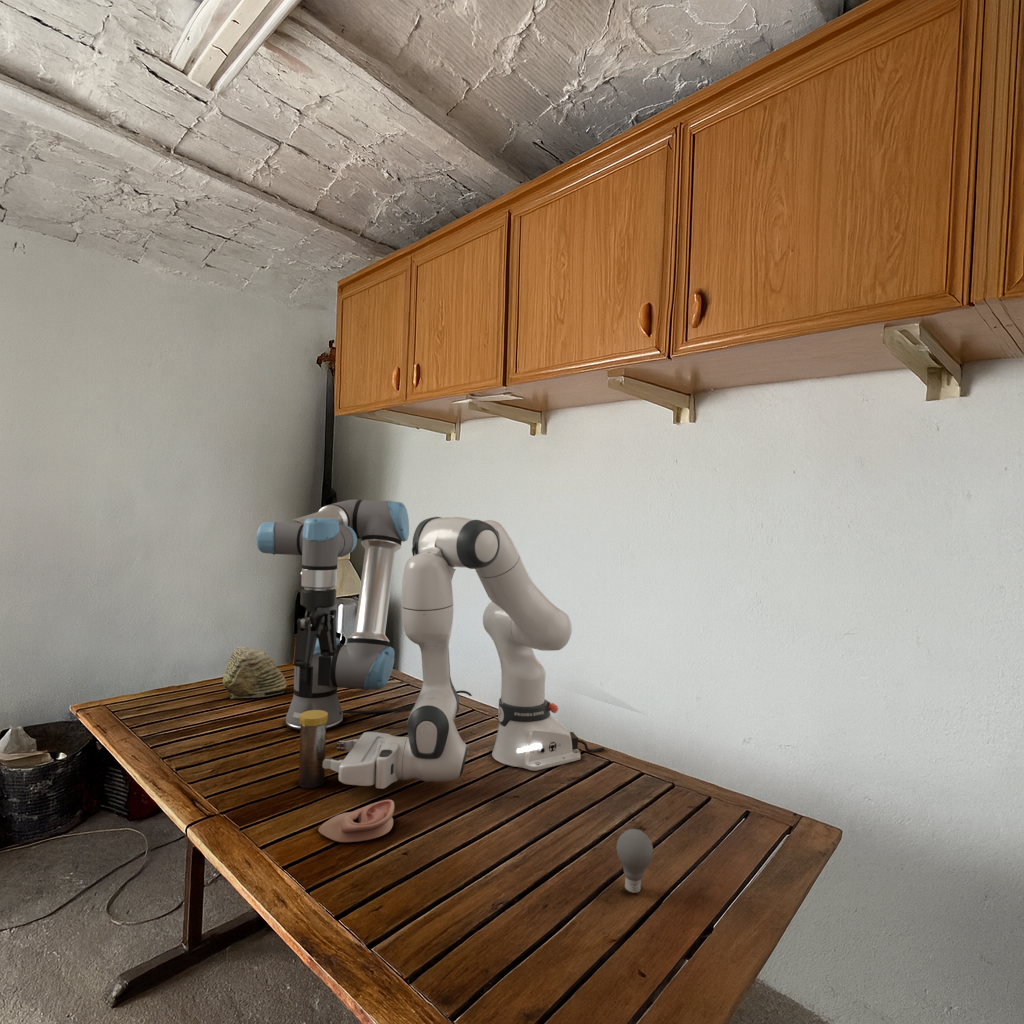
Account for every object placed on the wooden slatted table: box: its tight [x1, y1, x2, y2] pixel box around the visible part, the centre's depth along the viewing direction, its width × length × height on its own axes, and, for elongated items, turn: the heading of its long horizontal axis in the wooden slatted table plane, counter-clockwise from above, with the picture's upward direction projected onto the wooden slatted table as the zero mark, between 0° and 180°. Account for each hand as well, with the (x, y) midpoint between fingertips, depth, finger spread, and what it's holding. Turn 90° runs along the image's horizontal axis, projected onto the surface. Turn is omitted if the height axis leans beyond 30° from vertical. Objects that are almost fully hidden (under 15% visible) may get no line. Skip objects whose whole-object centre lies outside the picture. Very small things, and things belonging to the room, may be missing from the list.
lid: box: [299, 710, 328, 726], centre depth 140 cm, size 6×6×2 cm
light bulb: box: [615, 828, 654, 894], centre depth 106 cm, size 6×6×10 cm
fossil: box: [222, 646, 288, 699], centre depth 198 cm, size 9×18×15 cm, turn 132°
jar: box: [298, 722, 327, 789], centre depth 140 cm, size 5×5×15 cm
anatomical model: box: [317, 799, 395, 843], centre depth 122 cm, size 13×4×12 cm
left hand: (314, 690), depth 140 cm, fingers open, 8 cm apart
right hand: (330, 753), depth 140 cm, fingers open, 8 cm apart
